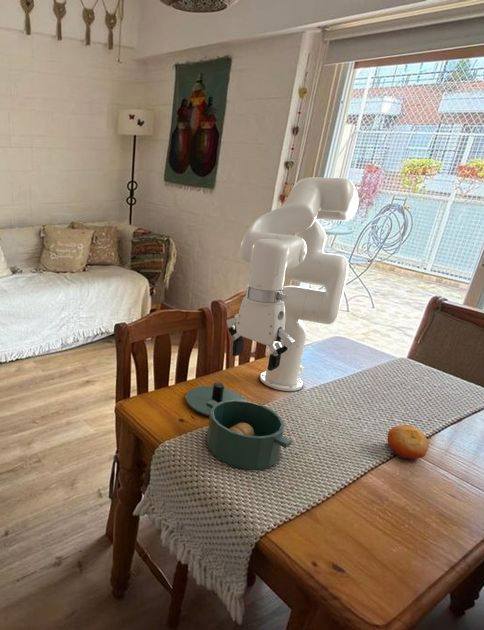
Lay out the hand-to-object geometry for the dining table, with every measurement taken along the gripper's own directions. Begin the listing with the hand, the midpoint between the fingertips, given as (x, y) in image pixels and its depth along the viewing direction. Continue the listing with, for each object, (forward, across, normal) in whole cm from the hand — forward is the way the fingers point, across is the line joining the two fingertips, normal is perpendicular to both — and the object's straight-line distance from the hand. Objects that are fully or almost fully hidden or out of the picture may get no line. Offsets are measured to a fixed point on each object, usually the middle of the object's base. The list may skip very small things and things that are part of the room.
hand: (254, 361), depth 106 cm
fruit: (+22, -27, -25) cm, 43 cm away
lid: (+20, +14, -7) cm, 26 cm away
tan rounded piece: (+20, -3, +5) cm, 21 cm away
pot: (+21, -3, +5) cm, 22 cm away
